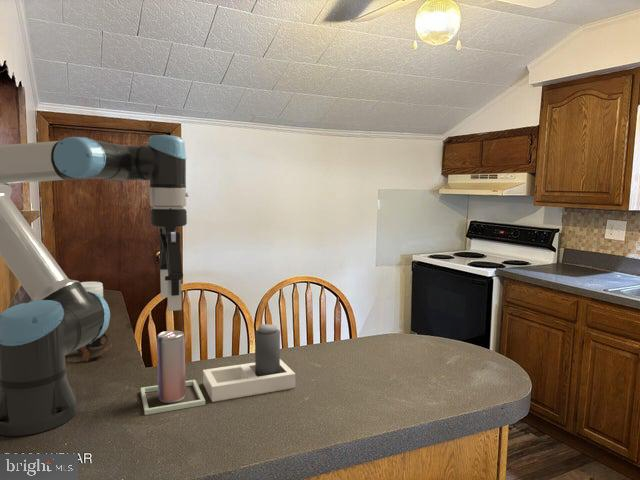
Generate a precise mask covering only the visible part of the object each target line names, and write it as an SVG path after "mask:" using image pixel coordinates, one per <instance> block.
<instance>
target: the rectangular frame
mask: <svg viewBox="0 0 640 480" xmlns="http://www.w3.org/2000/svg"><path fill="white" fill-rule="evenodd" d="M185 384H186V387H190V386H192V387H193V389H194V391H195V394H196V396H197V398H198V399H196V400H189V401H183V402H176V403H170V404H166V405H160V406H155V407H149V404H148V400H147V393H151V392H158V384H157V385H152V386H151V385H150V386H143V387H140V396H141V401H142V406H143V411H144V416H149V415H153V414H159V413H166V412H170V411H172V412H173V411H176V410H177V411H178V410H183V409H188V408H194V407H200V406H205V405H206V399H205V397H204V395H203V393H202V390H201V389H200V386H199V384H198V382H197V380H196V379H190V380H185ZM145 392H146V393H145Z"/></svg>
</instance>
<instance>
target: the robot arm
mask: <svg viewBox="0 0 640 480" xmlns="http://www.w3.org/2000/svg"><path fill="white" fill-rule="evenodd" d="M186 161H187V156H186V145H185V140H184V139H183V138H182V137H180V136H176V135H170V134H169V135H168V134H157V135H154V134H153V135H151V136H149V138H148V143H147V144H145V145H127V144H119V143H111V142H108V141H103V140H97V139H92V138H89V137H86V136H85V137H84V136H70V137H69V136H68V137H65V138H63V139H61V140H56V141H41V142H28V143H12V144H11V143H10V144H0V257H1V259H2V260H3V262H4V263H5V264H6V266H7V268H9V270H10V271H11V273H12V274H13V275H14V276H15V279H16V280H17V281H18V282H19V284H20V285H21V287H22V288H23V289H24V290H25V292H26V293H27V295H28V296H29V297H30V299H31V301H29V302H23V303H19V304H16V305H13V306H11V307H8V308H6V309H5V310H3V311H2V312H0V436H5V437H20V436H21V437H22V436H30V435H34V434H38V433H39V434H40V433H44V432H46V431H49V430H53V429H54V428H57V427H60V426H61V425H62V426H63V424H65V423H66V422H68V421H70V420H71V419H72V418H74V416H75V415H76V413H77V399H76V396H75V394H74V391H73V390H72V388H71V386H70V383H69V380H68V378H67V375H66V356H67V355H69V354H71V353H73V352H76V351H77V349H79V348H81V347H83V346H85V345H88V344H91V343H92V342H93V341H95V340H96V339H97V338H99V337H100V336H101V335H103V334H104V332H105V333H106V331H107V330H108V327H109V325H110V321H111V311H110V307H109V304H108V302H107V301H106V299H105V298H104V296H103V297H101V296H100V295H99V294H97V293H92V292H87V291H86V290H85V289H84V287H83V286H82V285H81V283H80V281H79V280H74V279H70V278H69V277H68V276H67V275H66V273H65V271H64V270H63V269H62V268H61V266H60V265H59V264H58V262H57V261H56V259H55V258H54V257H53V255H52V254H51V253H50V251H49V250H48V249H47V247H46V246H45V245H44V243H43V242H42V240H41V239H40V238H39V236H38V235H37V234H36V232H35V231H34V230H33V228H32V226H31V225H30V224H29V223H28V221H27V220H26V218H25V216H23V214H22V213H21V211H20V210H19V209H18V207H17V206H16V204H15V203H14V202H13V201H12V199H11V195H12V192H13V189H12V187H11V184H19V183H20V184H21V183H35V182H51V181H52V182H53V181H54V182H55V181H67V180H69V181H72V180H87V179H89V180H91V179H93V180H96V179H97V180H106V181H115V182H118V181H149V205H150V206H151V207H152V208H151V210H150V225H151V226H152V227H159V234H158V240H159V257H158V258H159V260H158V264H159V268H160V270H159V271H160V274H159V276H160V279H159V280H160V281H159V282H160V298H167V312H172V311H182V310H183V309H182V306H183V305H182V304H183V302H182V279H183V278H184V277H183V276H184V274H183V263H182V252H181V242H180V241H181V234H180V232H179V231H177V227H183V226H187V223H188V221H187V220H188V219H187V218H188V215H187V212H188V211H187V210H186V208H184V207H186V206H187V198H188V197H189V196H190V194H189V192H187V185H186V184H187V179H186V178H187V177H186V176H187V174H186V173H187V170H186V169H187V168H186V167H187V162H186Z"/></svg>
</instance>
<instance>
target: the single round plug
mask: <svg viewBox="0 0 640 480" xmlns="http://www.w3.org/2000/svg"><path fill="white" fill-rule="evenodd" d="M280 331H281V330H280V329H278V327H277V325H276V324H270V323H269V324H268V323H265V324H261V325H258V329H256V330H255V331H254V333H255V335H254V339H255V341H254V343H255V346H254V347H255V349H254V350H255V351H254V352H255V354H254V356H255V357H254V358H255V359H254V363H255V374H256V376H257V377H259V376H265V375H272V374H278V373H280V359H281V355H280V353H281V332H280Z"/></svg>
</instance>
